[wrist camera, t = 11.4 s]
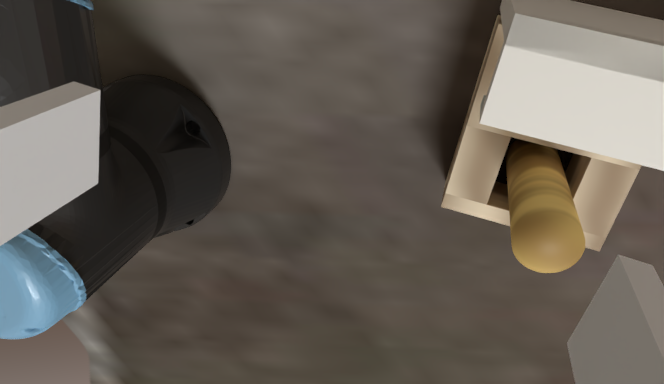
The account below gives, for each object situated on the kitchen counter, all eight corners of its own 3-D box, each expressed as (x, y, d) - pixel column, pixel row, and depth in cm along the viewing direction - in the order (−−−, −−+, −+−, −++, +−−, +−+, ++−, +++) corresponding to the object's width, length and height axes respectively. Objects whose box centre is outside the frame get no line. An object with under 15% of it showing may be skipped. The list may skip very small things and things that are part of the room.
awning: (483, 61, 42) (479, 123, 28) (506, -14, 39) (515, 13, 25) (645, 99, 40) (729, 187, 26) (680, 24, 37) (795, 75, 23)
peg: (515, 128, 43) (524, 204, 31) (566, 141, 42) (596, 224, 30) (499, 173, 45) (502, 261, 33) (547, 186, 44) (569, 281, 32)
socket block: (445, 181, 46) (441, 206, 42) (497, 14, 40) (498, 24, 36) (588, 220, 45) (599, 251, 40) (667, 52, 38) (689, 67, 34)
